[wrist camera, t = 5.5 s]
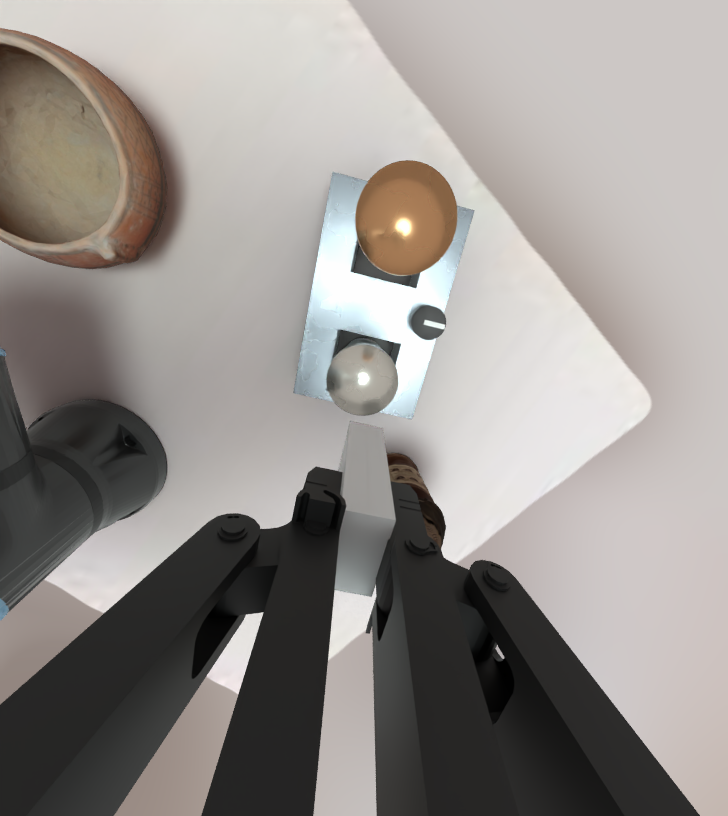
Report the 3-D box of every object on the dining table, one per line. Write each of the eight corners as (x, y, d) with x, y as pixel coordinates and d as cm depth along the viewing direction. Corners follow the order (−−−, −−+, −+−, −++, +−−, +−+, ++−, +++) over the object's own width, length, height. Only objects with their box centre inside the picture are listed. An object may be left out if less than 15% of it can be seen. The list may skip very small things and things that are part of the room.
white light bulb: (331, 377, 38) (320, 407, 29) (342, 325, 36) (334, 337, 27) (382, 389, 39) (388, 422, 29) (395, 338, 37) (406, 355, 27)
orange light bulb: (351, 270, 30) (345, 261, 20) (366, 196, 28) (368, 147, 19) (415, 287, 30) (439, 285, 21) (435, 214, 29) (471, 176, 19)
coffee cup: (382, 430, 42) (389, 488, 29) (439, 461, 43) (470, 530, 31) (346, 485, 44) (339, 560, 32) (402, 513, 45) (416, 596, 33)
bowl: (171, 294, 37) (104, 295, 27) (15, 236, 35) (-115, 216, 25) (202, 126, 32) (134, 57, 22) (23, 50, 30) (-133, -61, 21)
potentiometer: (405, 332, 32) (409, 336, 29) (414, 301, 31) (418, 302, 28) (434, 339, 32) (440, 343, 30) (443, 308, 31) (450, 310, 29)
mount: (303, 378, 39) (293, 392, 34) (337, 191, 34) (332, 171, 28) (405, 401, 40) (411, 419, 35) (456, 223, 34) (474, 210, 29)
